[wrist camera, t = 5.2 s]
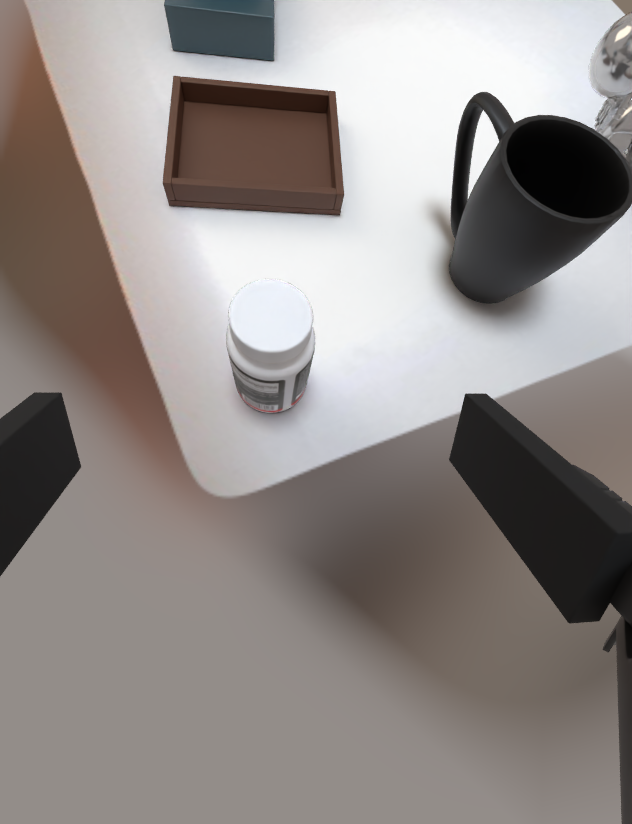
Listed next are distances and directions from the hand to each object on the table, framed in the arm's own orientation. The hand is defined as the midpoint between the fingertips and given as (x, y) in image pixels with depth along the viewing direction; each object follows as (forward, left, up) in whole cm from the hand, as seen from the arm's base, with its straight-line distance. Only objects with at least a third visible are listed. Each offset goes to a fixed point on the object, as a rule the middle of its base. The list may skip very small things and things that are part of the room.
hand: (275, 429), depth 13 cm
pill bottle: (0, +7, -12) cm, 14 cm away
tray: (-1, +27, -12) cm, 29 cm away
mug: (+16, +18, -12) cm, 27 cm away
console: (-4, +45, -12) cm, 46 cm away
